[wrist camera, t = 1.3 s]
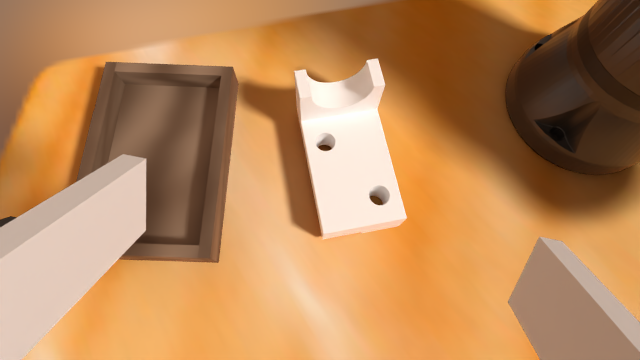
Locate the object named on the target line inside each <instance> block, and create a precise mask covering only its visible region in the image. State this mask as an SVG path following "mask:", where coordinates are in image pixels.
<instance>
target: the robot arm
mask: <svg viewBox="0 0 640 360" xmlns="http://www.w3.org/2000/svg"><path fill="white" fill-rule="evenodd" d="M506 104H507V109H508V112H509V115H510V118H511V120H512V122H513V124H514V126H515V128H516V130H517V131H518V133H519V134H520V136H521V137H522V138H523V139H524V141H525V142H526V143H527V144H528V145H529V146H530V147H531V148H532V149H533V150H535V151H536V152H537V153H538V154H539V155H541V156H542V157H544V158H545V159H547V160H548V161H550V162H552V163H554V164H556V165H558V166H560V167H562V168H565V169H568V170H570V171H574V172H578V173H583V174H593V175H600V174H610V173H614V172H618V171H621V170H623V169H626V168H628V167H630V166H632V165H635V164H637V163H639V162H640V0H598V1H597V2H596V3H595V4H594V6H593V7H592V8H591V9H590V10H589V11H588V12H587V13H586V14H585V15H583V16H582V17H580V18H578V19H576V20H575V21H573V22H571V23H569V24H567V25H566V26H564V27H562V28H560V29H558V30H557V31H555V32H554V33H552V34H550V35H548V36H546V37H544V38H543V39H541V40H539V41H538V42H536V43H535V44H534V45H533V46H531V47H530V48H529V49H528V50H527V51H526V53H525V54H524V55H523V56H522V57H521V58H520V60H519V61H518V62H517V63H516V64H515V66H514V67H513V69H512V71H511V73H510V75H509V77H508V81H507V85H506ZM145 231H146V158H141V157H135V156H130V155H125V154H122V155H121V156H119V157H117V158H116V159H114V160H112V161H111V162H109V163H107V164H106V165H104V166H102V167H101V168H99V169H97V170H96V171H94V172H92V173H91V174H89V175H87V176H86V177H84V178H82V179H81V180H79V181H77V182H76V183H74V184H72V185H71V186H69V187H67V188H66V189H64V190H62V191H60V192H59V193H57V194H55V195H54V196H52V197H50V198H49V199H47V200H45V201H44V202H42V203H40V204H39V205H37V206H35V207H34V208H32V209H30V210H29V211H27V212H25V213H24V214H22V215H20V216H19V217H17V218H16V217H11V216H10V217H7V218H4V219H1V220H0V360H22V359H23V358H24V357H25V356H26V355H27V354H28V353H29V352H30V351H31V349H32V348H33V347H34V346H35V345H36V344H37V343H38V342H39V341H40V340H41V339H42V338H43V337H44V336H45V335H46V334H47V333H48V332H49V331H50V330H51V329H52V328H53V327H54V326H55V325H56V323H57V322H58V321H59V320H60V319H61V318H62V317H63V316H64V315H65V314H66V313H67V312H68V311H69V310H70V309H71V308H72V307H73V306H74V305H75V304H76V303H77V302H78V301H79V300H80V299H81V297H82V296H83V295H84V294H85V293H86V292H87V291H88V290H89V289H90V288H91V287H92V286H93V285H94V284H95V283H96V282H97V281H98V280H99V279H100V278H101V277H102V276H103V275H104V274H105V273H106V271H107V270H108V269H109V268H110V267H111V266H112V265H113V264H114V263H115V262H116V261H117V260H118V259H119V258H120V257H121V256H122V255H123V254H124V253H125V252H126V251H127V250H128V249H129V248H130V247H131V245H132V244H133V243H134V242H135V241H136V240H137V239H138V238H139V237H140V236H141V235H142V234H143V233H144V232H145ZM508 303H509V305H510V307H511V308H512V310H513V312H514V314H515V316H516V317H517V319H518V321H519V323H520V324H521V326H522V328H523V330H524V332H525V333H526V335H527V337H528V339H529V341H530V342H531V344H532V346H533V348H534V349H535V351H536V353H537V355H538V357H539V358H540V360H640V322H639V321H638V320H637V319H636V318H635V317H634V316H633V315H632V314H631V313H630V312H629V311H628V310H627V309H626V308H625V307H624V306H623V304H622V303H621V302H620V301H619V300H618V299H617V298H616V297H615V296H614V295H613V294H612V293H611V292H610V291H609V290H608V289H607V288H606V287H605V286H604V285H603V284H602V283H601V281H600V280H599V279H598V278H597V277H596V276H595V275H594V274H593V273H592V272H591V271H590V270H589V269H588V268H587V267H586V266H585V265H584V264H583V263H582V262H581V261H580V259H579V258H578V257H577V256H576V255H575V254H574V253H573V252H572V251H571V250H570V249H569V248H568V247H567V246H566V245H565V244H564V243H563V242H562V241H558V240H553V239H548V238H543V237H539V238H538V240H537V243H536V245H535V247H534V249H533V251H532V253H531V255H530V257H529V259H528V261H527V263H526V265H525V267H524V270H523V272H522V274H521V276H520V278H519V280H518V282H517V284H516V286H515V288H514V290H513V292H512V294H511V297H510V299H509V301H508Z"/></svg>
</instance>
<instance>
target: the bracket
mask: <svg viewBox="0 0 640 360" xmlns="http://www.w3.org/2000/svg"><path fill="white" fill-rule="evenodd" d="M294 72H295V87H296V103H297V113H298V118H299V123H300V128H301V133H302V138H303V143H304V148H305V153H306V158H307V163H308V168H309V173H310V178H311V184H312V189H313V194H314V199H315V204H316V209H317V214H318V219H319V224H320V229H321V234H322V239H327V238H332V237H338V236H343V235H348V234H353V233H358V232H360V233H365V232H370V231H375V230H380V229H386V228H391V227H396V226H399V225H400V224H401V223H402V222H403V221H404V220H405V219H406V218H407V217H406V213H405V210H404V206H403V202H402V199H401V195H400V191H399V188H398V184H397V180H396V177H395V173H394V169H393V165H392V162H391V158H390V154H389V151H388V147H387V143H386V140H385V136H384V132H383V129H382V125H381V121H380V118H379V114H378V110H377V108H378V105H379V102H380V99H381V96H382V93H383V90H384V87H385V82H384V78H383V75H382V71H381V68H380V64H379V61H378V58H377V59H371V60H367V61H366V64H365V65H364V67H363V68H362V69H361V70H360V71H359V72H358V73H356V74H355V75H353V76H352V77H350V78H347V79H345V80H342V81H338V82H332V83H323V82H317V81H315V80H313V79H311V78H310V77H309V76H308V75H307V73H306V69H305V70H299V71H294ZM320 145H328V146H330V147H331V148H332V149H331V150H329V151H322V150H320V149H319V148H318V147H319V146H320ZM369 196H376V197H378V198H380V199H381V201H382V203H383V205H376V204H374V203H373V202H372V201H371V200H370V198H369Z"/></svg>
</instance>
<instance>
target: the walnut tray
mask: <svg viewBox="0 0 640 360" xmlns="http://www.w3.org/2000/svg"><path fill="white" fill-rule="evenodd" d="M237 93H238V81H237V78H236V75H235V72H234V69H233V67H223V66H197V65H172V64H147V63H121V62H106V64H105V68H104V72H103V76H102V80H101V84H100V89H99V93H98V97H97V101H96V105H95V109H94V111H93V115H92V120H91V124H90V128H89V132H88V136H87V140H86V144H85V148H84V152H83V157H82V161H81V165H80V169H79V173H78V177H77V181H79V180H81V179H82V178H84V177H86V176H87V175H89V174H91V173H92V172H94V171H96V170H97V169H99V168H101V167H102V166H104V165H106V164H107V163H109V162H111V161H112V160H114V159H116V158H117V157H119V156H121V155H122V154H125V155H130V156H135V157H141V158H146V231H145V232H144V233H143V234H142V235H141V236H140V237H139V238H138V239H137V240H136V241H135V242H134V243H133V244H132V245H131V247H130V248H129V249H128V250H127V251H126V252H125V253H124V254H123V255H122V256H121V257H120V258H119V259H126V260H156V261H187V262H217V263H218V262H219V253H220V245H221V236H222V227H223V218H224V209H225V200H226V191H227V182H228V173H229V164H230V155H231V146H232V137H233V128H234V119H235V110H236V101H237ZM77 181H76V182H77Z"/></svg>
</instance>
